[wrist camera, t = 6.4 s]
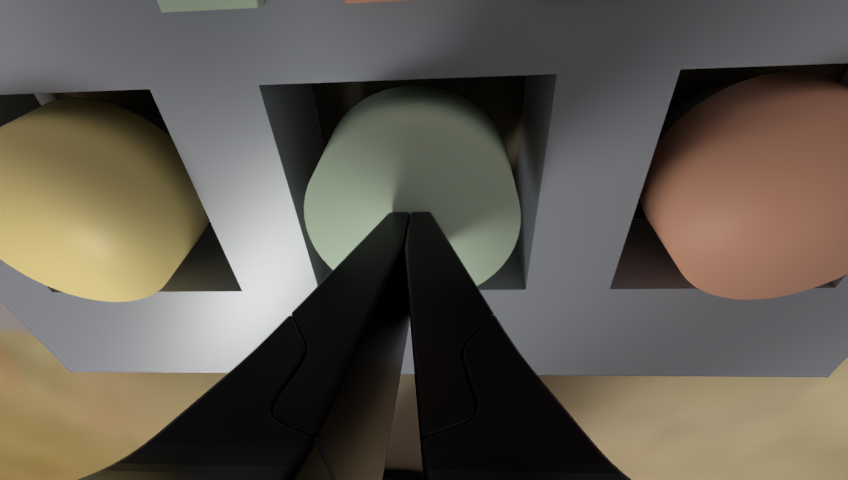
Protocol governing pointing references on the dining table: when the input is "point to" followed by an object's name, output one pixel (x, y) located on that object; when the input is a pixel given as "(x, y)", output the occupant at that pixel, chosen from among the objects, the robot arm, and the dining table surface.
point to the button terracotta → (754, 186)
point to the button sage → (416, 177)
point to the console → (404, 60)
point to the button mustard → (95, 199)
